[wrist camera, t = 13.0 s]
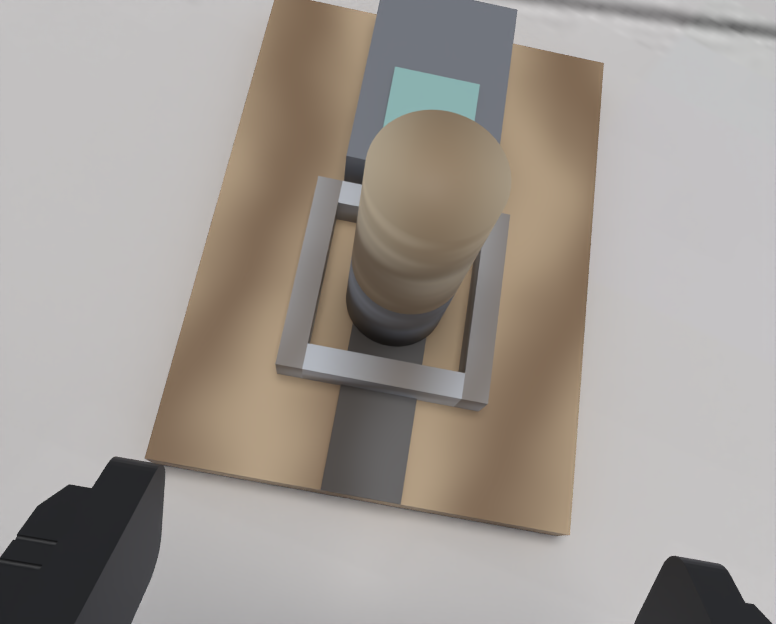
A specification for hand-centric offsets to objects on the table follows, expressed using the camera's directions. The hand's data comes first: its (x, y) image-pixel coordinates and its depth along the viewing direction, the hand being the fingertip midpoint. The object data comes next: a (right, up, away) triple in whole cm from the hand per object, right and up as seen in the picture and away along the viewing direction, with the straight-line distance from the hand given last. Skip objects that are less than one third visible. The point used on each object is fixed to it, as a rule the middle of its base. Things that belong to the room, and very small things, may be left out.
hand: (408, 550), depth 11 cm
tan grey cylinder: (0, +4, +17) cm, 18 cm away
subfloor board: (0, +7, +20) cm, 21 cm away
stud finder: (+1, +13, +20) cm, 24 cm away
